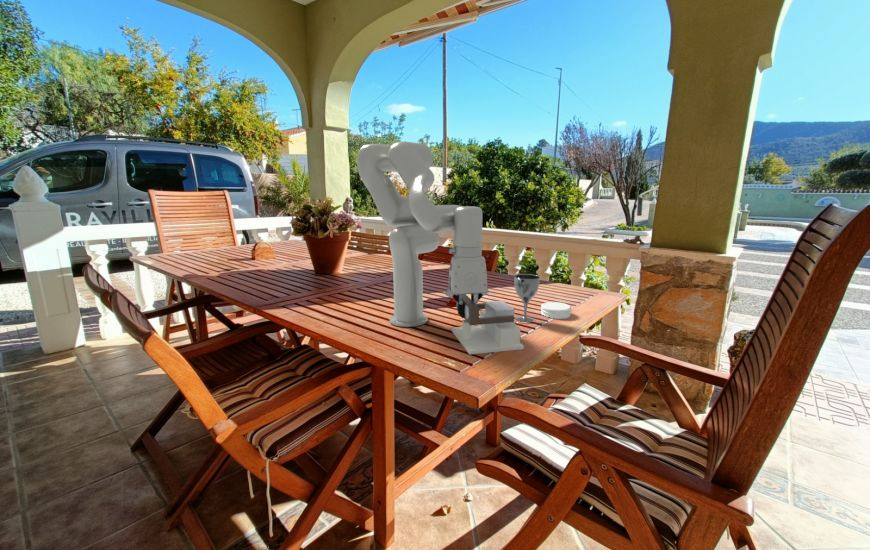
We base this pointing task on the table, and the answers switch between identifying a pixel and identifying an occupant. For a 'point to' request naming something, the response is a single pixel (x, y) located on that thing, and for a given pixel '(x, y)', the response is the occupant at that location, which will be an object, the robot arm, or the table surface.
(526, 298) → the wine glass
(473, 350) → the stand
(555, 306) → the white round disc
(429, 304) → the table surface
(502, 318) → the grey frame
